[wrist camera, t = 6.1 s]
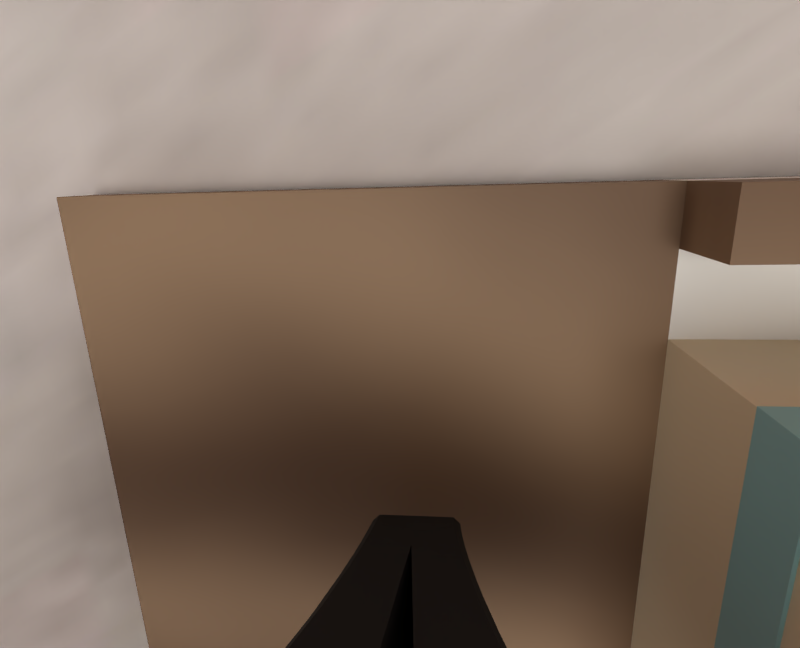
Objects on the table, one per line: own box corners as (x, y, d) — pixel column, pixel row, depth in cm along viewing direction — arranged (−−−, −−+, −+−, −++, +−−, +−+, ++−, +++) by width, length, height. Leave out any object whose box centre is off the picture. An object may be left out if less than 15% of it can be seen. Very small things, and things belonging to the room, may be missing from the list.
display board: (987, 749, 11) (1219, 999, 8) (187, 690, 13) (95, 872, 10) (1217, 165, 8) (1798, 158, 4) (95, 194, 10) (-97, 205, 6)
